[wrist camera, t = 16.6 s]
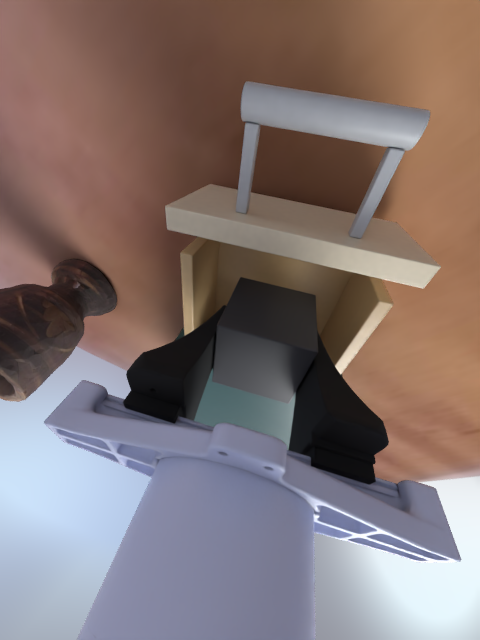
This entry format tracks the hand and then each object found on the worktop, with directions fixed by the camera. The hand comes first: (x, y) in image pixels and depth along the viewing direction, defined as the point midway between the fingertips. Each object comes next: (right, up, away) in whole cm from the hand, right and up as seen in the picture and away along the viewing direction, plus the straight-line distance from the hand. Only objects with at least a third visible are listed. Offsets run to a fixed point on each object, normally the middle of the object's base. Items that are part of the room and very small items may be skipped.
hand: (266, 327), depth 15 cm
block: (0, +1, +1) cm, 1 cm away
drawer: (+2, +6, +3) cm, 7 cm away
